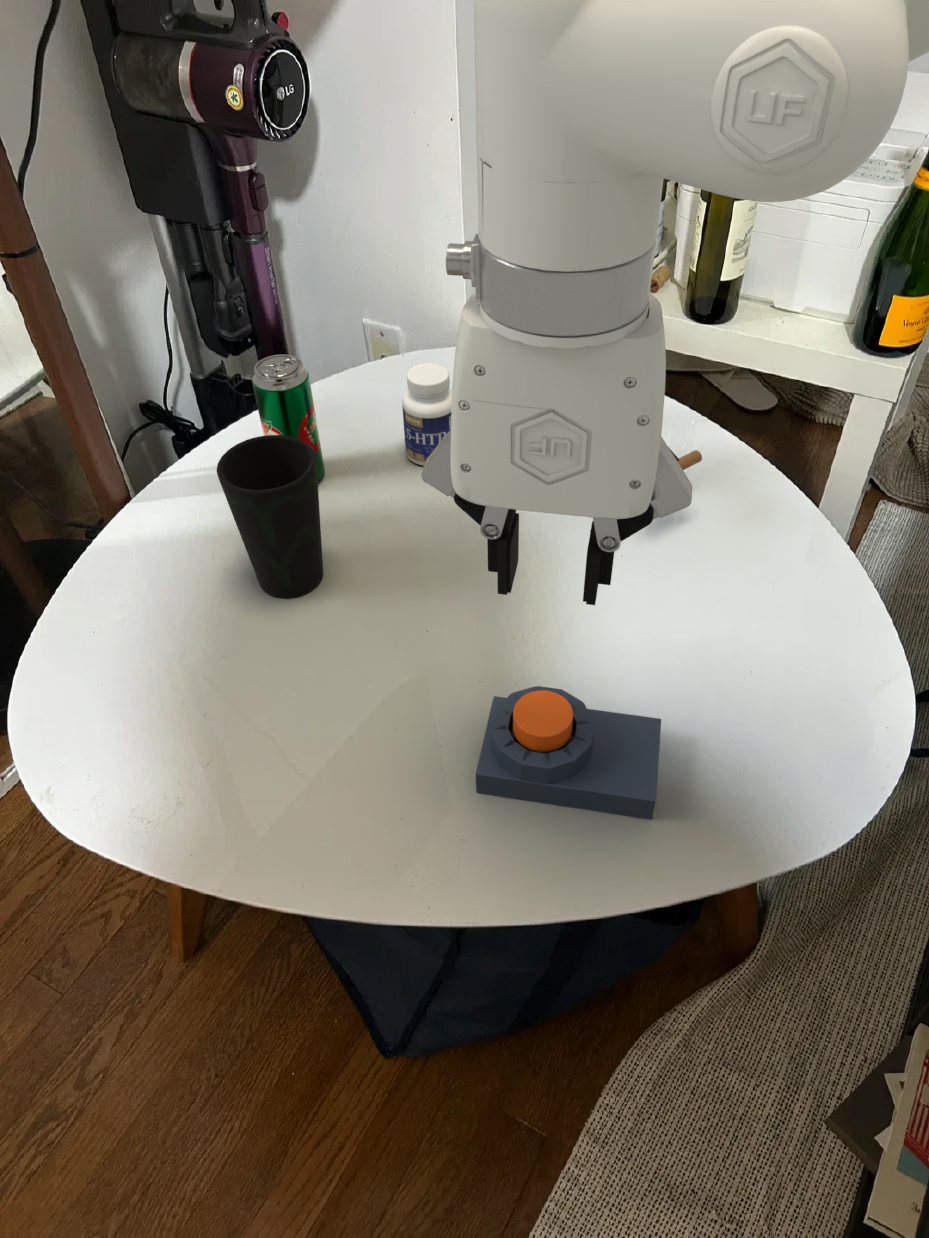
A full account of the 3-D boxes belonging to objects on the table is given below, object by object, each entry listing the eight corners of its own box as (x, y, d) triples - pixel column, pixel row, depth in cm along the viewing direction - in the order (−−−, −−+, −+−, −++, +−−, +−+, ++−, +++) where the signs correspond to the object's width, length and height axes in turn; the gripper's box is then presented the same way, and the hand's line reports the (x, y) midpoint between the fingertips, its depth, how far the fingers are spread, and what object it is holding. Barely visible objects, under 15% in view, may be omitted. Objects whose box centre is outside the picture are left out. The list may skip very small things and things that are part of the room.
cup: (353, 574, 80) (336, 459, 71) (285, 620, 76) (257, 505, 68) (296, 536, 84) (273, 423, 75) (228, 579, 80) (196, 465, 71)
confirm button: (575, 710, 64) (576, 693, 63) (568, 756, 61) (569, 740, 60) (518, 702, 64) (518, 686, 63) (508, 747, 62) (508, 731, 61)
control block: (657, 737, 66) (664, 702, 64) (652, 819, 62) (659, 785, 59) (493, 714, 68) (493, 679, 66) (476, 792, 64) (474, 758, 61)
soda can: (264, 474, 91) (239, 364, 82) (308, 455, 93) (289, 346, 84) (289, 499, 88) (266, 387, 79) (334, 478, 90) (317, 368, 81)
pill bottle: (401, 466, 91) (393, 386, 85) (411, 436, 95) (405, 357, 88) (454, 470, 90) (450, 390, 84) (462, 439, 94) (460, 360, 88)
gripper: (356, 304, 39) (392, 611, 52) (765, 332, 36) (696, 648, 49) (399, 232, 44) (423, 527, 57) (760, 251, 42) (699, 557, 54)
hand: (549, 580), depth 53 cm, fingers open, 4 cm apart
